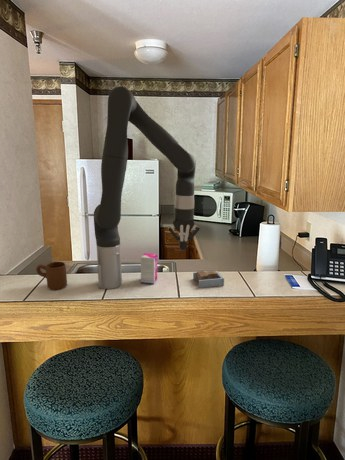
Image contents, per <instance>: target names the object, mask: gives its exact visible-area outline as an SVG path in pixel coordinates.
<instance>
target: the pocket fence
mask: <svg viewBox="0 0 345 460" xmlns="http://www.w3.org/2000/svg"><path fill="white" fill-rule="evenodd" d="M207 271H208V270H207ZM207 271H205V272H207ZM215 271H216V272H217V273H218V275H217V279H206V280H199V282H198V288H199V289H201V288H203V289H204V288H212V287H222V286H225V277H223V276H222V275H221V273H220V272H219V271H218V270H215ZM192 273H193V275H192V276H193V278H192V279H193V281H194V280H196V281H197V271H195V272H192Z"/></svg>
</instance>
